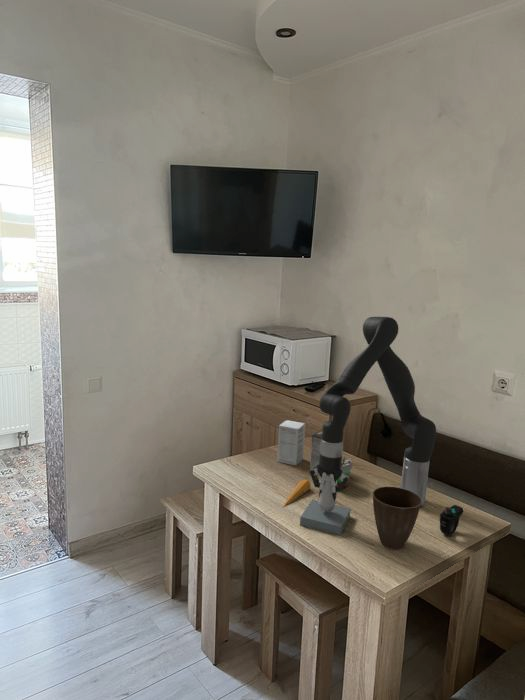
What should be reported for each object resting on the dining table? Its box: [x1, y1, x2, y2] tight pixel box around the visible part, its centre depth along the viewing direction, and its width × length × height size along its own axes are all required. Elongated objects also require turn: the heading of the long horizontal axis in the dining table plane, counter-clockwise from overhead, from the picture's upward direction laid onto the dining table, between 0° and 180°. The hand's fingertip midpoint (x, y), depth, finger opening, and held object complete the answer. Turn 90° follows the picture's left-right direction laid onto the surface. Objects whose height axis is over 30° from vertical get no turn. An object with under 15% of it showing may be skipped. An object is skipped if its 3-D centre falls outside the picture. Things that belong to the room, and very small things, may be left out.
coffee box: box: [309, 429, 322, 474], centre depth 217 cm, size 9×6×16 cm
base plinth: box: [299, 499, 351, 536], centre depth 175 cm, size 14×14×3 cm
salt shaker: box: [317, 474, 336, 512], centre depth 173 cm, size 6×6×13 cm
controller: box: [439, 504, 464, 536], centre depth 171 cm, size 4×12×10 cm, turn 137°
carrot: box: [282, 478, 311, 508], centre depth 191 cm, size 20×4×4 cm, turn 149°
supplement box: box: [276, 419, 306, 466], centre depth 225 cm, size 10×9×17 cm
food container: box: [337, 456, 353, 490], centre depth 202 cm, size 12×6×10 cm, turn 143°
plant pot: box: [372, 486, 422, 550], centre depth 162 cm, size 15×15×16 cm
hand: (327, 500), depth 174 cm, fingers closed on salt shaker, 3 cm apart
